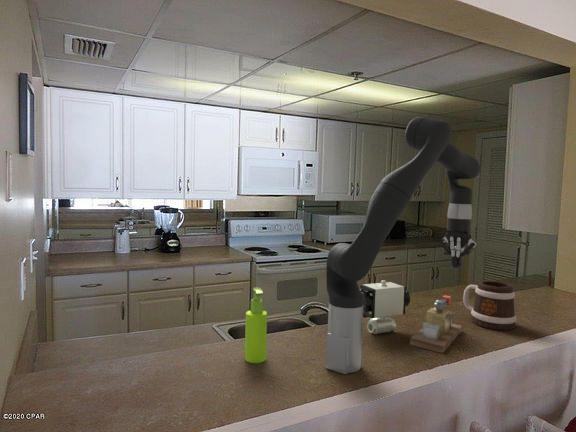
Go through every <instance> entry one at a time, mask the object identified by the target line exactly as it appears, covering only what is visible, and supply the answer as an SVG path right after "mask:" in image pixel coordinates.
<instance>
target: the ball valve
mask: <svg viewBox="0 0 576 432" xmlns="http://www.w3.org/2000/svg"><path fill="white" fill-rule="evenodd" d="M359 286H360V287H359V289H360V291H361V292H362V294H363V297H364V302H363V316H366V317H368V318H369V321H367V324H366V328H367V331H368V332H369V333H371V334H375V335H377V334H382V333H390V332H392V331H395V329H396V327H397V324H396V321H395V319H393V318H392V317H393V316H394V317H395V316H402V315H406V310H407V307H408V306H409V305H410V303H411V295H410V292H409V290H408V289H407V286H406V285H403V284H399V283H397V282H395V281H389V282H388V281H387V280H385V279H383V280H381V281H380V282H376V283H366V284H364V283H363V284H359Z"/></svg>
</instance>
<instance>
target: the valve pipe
mask: <svg viewBox="0 0 576 432" xmlns="http://www.w3.org/2000/svg"><path fill="white" fill-rule="evenodd" d="M425 315H426V317H425V322H423V323H422V328H423V332H422V338H425V339H429V340H433V341H438V338H439V337H440V336H445V335H446V334H447V333H448V332H449V327H451V324H453V323H452V322H453V321H452V320H453V313H452V312H451V310H447V309H443V311H442V312H439V311H435V310H434V307H430V308H429V309H427V311H426V314H425Z"/></svg>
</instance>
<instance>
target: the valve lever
mask: <svg viewBox="0 0 576 432" xmlns="http://www.w3.org/2000/svg"><path fill="white" fill-rule="evenodd" d="M451 304H452V296H451V295H445V294H443V296H442V297H441V299H436V300H435V302H434V304H433V306H434V307H433V308H434V310H435V311H439V312H442V311H443V310H444V308H445V307H446V306H447V305H448V306H450V305H451Z"/></svg>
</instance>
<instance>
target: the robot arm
mask: <svg viewBox="0 0 576 432" xmlns="http://www.w3.org/2000/svg"><path fill="white" fill-rule="evenodd" d="M404 132H405V133H404V138H405V142H406V144H407V145H408V146H409V147H410V148H412V149H414V150H416V151H419V152H418V153H417V154H416V156H415V157H413V158H412V159H411V160H410V161H409V162H406V164H403V165H402V166H400V167H398V168H396V169H395V170H393V171H392V172H390V173H388V174H387V175H386V176H384V177H383V178H382V180H380V182H379V184H378V185H377V187H376V189H375V190H374V192H373V193H372V195H371V197H370V199H369V202H368V204H367V210H366V215H365V220H364V224H363V226H362V228H361V230H360V231H359V233H358V235H356V238H355V239H354V240H353V241H352V242H351V243H346V242H339V243H336V244H335V245H334V246H332V247H331V248H330V250H329V251H328V255H327V258H326V273H325V274H326V291H327V295H328V313H327V314H328V317H327V333H326V341H325V343H326V346H325V369H328V370H330V371H333V372H337V373H340V374H343V375H347V374H350V373H351V374H352V373H356V372H358V371H360V370H361V365H362V346H363V345H362V344H363V342H362V341H363V323H364V322H363V319H364V314H363V302H364V297H363V294H362V292H361V291H360V287H359V284H358V282H359V281H361V280H363V279H364V278H365V277H366V276H367V275H368V274H369V272H370V270H371V268H372V267H373V265H374V262H375V261H376V258H377V256H378V255H379V252H380V251H381V248H382V246H383V244H384V242H385V240H386V239H387V237H388V236H389V233H390V232H391V231H392V229H393V227H394V225H395V224H396V222H398V221H397V220H398V219H399V218H400V216H401V215H402V214H403V211H404V210H405V209H406V207H407V206H408V204H409V202H410V201H411V199H412V197H413V195H414V193H415V192H416V190H417V189H418V187H419V186H420V184H421V182H422V181H423V179H424V178H425V177H426V175H427V173H429V171H430V170H431V168H432V167H433V166H434V164H435V163H436V162H437V163H438V164H439V165H440V166H441V167H443V168H444V170H445V174H446V178H447V182H448V189H449V197H448V198H449V199H448V200H449V201H448V203H449V204H448V208H447V214H446V215H447V219H446V220H447V221H446V233H445V236H444V237H442V238H439V240H438V241H439V243H440V244H441V246H442V248H443V250H444V251H445V253H446V254H447V255H450V256H451V266H452V267H453V268H455V269H460V268H461V267H462V264H463V263H462V262H463V260H462V259H463V258H464V257H466V256H468V255H470V253H472V252H473V250H474V249H475V248H476V247H477V246H478V242H477V241H474V240H473V239H472V235H471V228H472V216H473V215H472V214H473V213H472V212H473V211H472V210H473V209H472V202H473V201H472V199H473V190H472V189H473V188H472V187H469V186H465V185H461V184H460V182H459V180H473V179H476V178H477V177H478V176H479V174H480V172H481V165H480V162H479V161H478V159H477V158H475V157H474V156H472V155H469V154H467V153H464V152H462V150H461V149H460V148H458V147H457V146H456V145H455V144H453V143H452V142H450V141H451V138H452V135H453V128H452V125H451V123H449V122H448V121H445V120H442V119H437V118H433V117H432V118H431V117H426V116H418V117H414V118H412V119H411V120H410V121H409V122H408V124H407V126H406V129H405V131H404ZM466 246H467V247H466ZM465 247H466V248H465Z"/></svg>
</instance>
